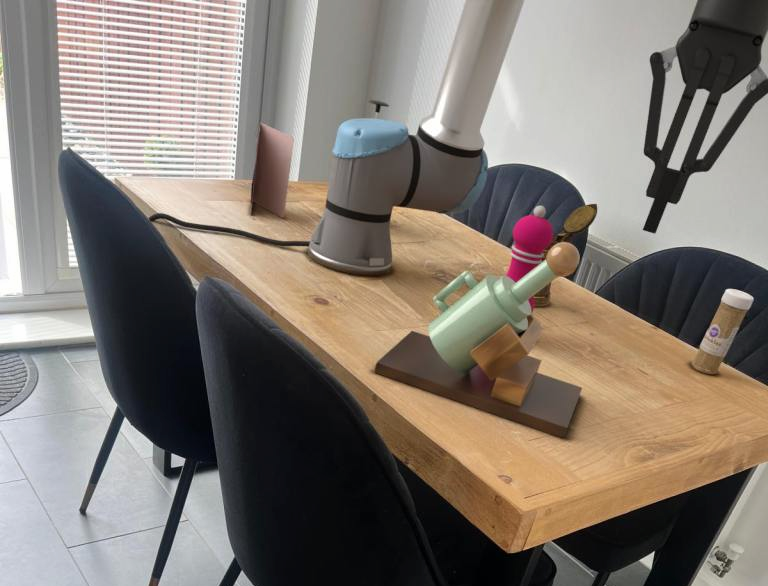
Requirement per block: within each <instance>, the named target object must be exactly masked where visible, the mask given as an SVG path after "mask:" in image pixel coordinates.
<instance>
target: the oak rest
mask: <svg viewBox="0 0 768 586" xmlns="http://www.w3.org/2000/svg"><path fill="white" fill-rule="evenodd" d="M527 320H528V328H527V329H526V330H525V331H524V332H522V333H521V334H520V335H517V334H516V332H515V331H514V330H513V328H512V327H511V326H510V325H509V323H507V324H506V325H505V326H503V327H502V328H501V329H499V330H498V331H497V332H495V333H494V334H493V335H491V336H490V337H489V338H488V339H486V340H485V341H484V342H482V343H481V344H480V345H478V346H477V347H476V348H474V349H473V350H472V351H471V352H470V354H471V356H472V357H473V358H474V359H475V361H476V362H477V363H478V364H479V366H480V367H481V368H482V370H483V371H484V372H485V373H486V375H487V376H488V377H489V378H490V380H491V381H492V380H493V379H495V378H496V377H497V378H496V381H495V384H494V388H493V391H492V394H491V397H493V398H496V399H499V400H502V401H504V402H507V403H510V404H513V405H516V406H519V407H520V406H521V404H522V402H523V400H524V399H525V397H526V395H527V393H528V391H529V389H530V387H531V385H532V384H533V382H534V380H535V378H536V375H537V373H539V369H540V366H541V364H542V359H539V358H537V357H534V356H531V355H529V354H530V353H531V351H532V349H533V347H534V346H535V344H536V342H537V341H538V339H539V338H540V336H541V335H542V332H543V331H544V330H545V329H544V326H542V325H541V322H540V321H539V320H538V319H537V318H536V316H535V315H534V313H532V312H531V315H529V316H528V317H527Z"/></svg>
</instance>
